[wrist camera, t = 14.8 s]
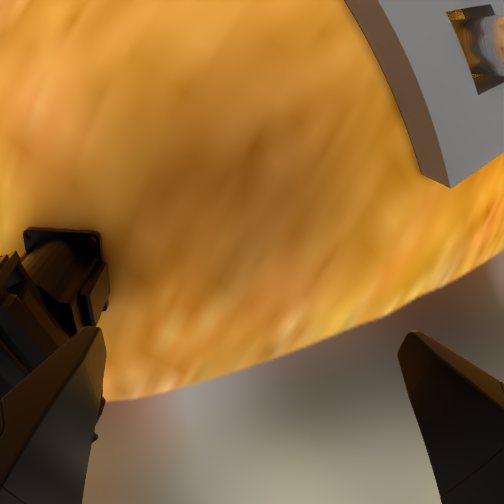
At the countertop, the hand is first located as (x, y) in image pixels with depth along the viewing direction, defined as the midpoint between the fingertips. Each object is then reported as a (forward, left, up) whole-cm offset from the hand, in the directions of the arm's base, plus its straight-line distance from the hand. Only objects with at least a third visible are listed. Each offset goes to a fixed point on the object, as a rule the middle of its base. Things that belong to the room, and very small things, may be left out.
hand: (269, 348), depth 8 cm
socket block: (+15, +15, -13) cm, 25 cm away
